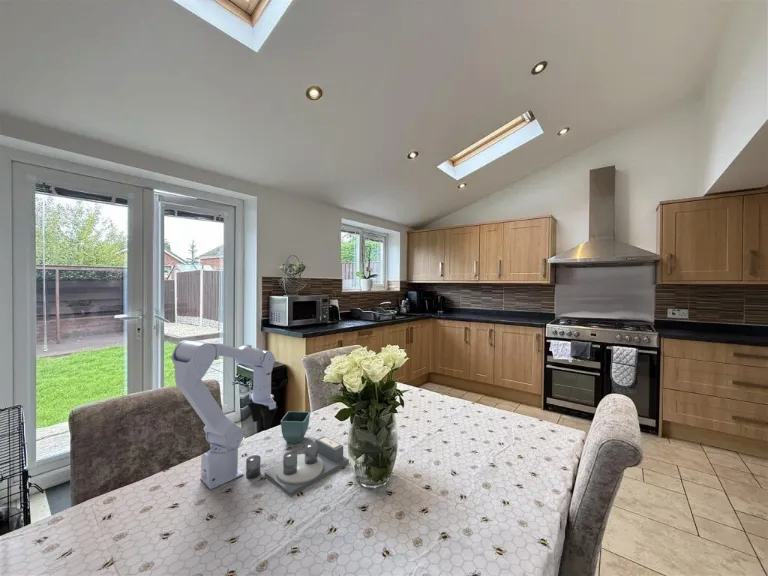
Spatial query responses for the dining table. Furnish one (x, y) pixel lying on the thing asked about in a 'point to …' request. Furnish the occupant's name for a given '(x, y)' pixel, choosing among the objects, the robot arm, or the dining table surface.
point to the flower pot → (295, 426)
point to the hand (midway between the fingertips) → (261, 424)
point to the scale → (309, 467)
